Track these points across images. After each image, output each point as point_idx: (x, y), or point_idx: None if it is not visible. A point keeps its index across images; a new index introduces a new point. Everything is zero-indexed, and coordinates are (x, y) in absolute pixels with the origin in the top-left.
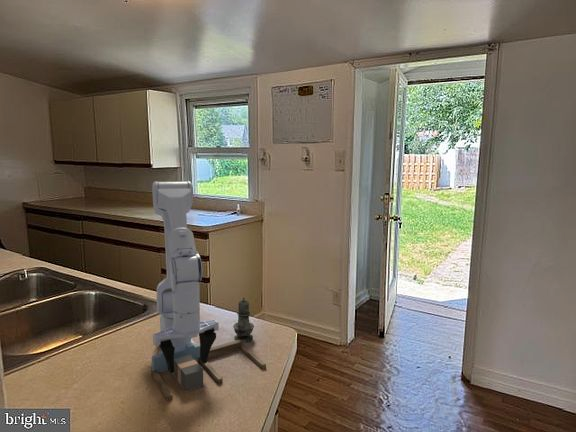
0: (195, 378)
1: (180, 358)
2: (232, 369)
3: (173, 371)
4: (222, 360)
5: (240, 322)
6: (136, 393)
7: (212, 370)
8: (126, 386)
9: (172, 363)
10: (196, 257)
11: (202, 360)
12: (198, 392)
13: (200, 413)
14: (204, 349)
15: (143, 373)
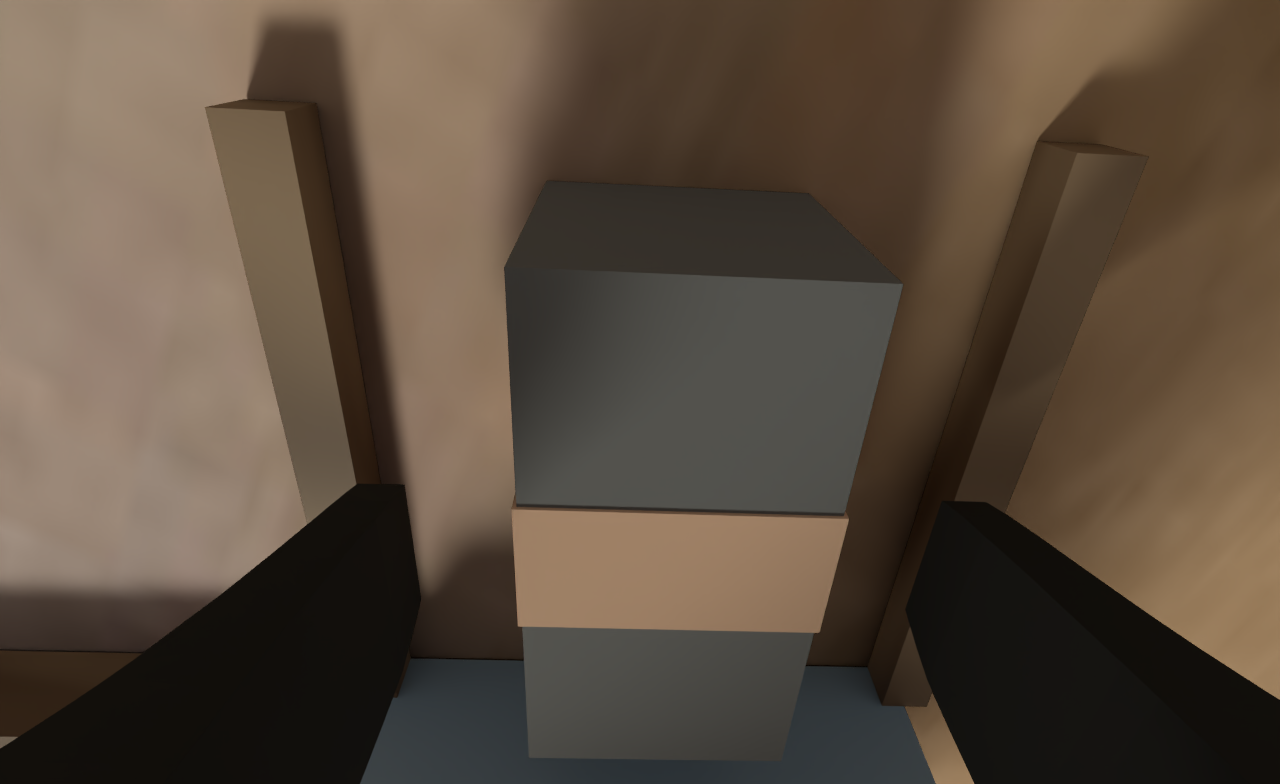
0: (675, 232)
1: (690, 736)
2: (30, 329)
3: (966, 513)
4: (139, 561)
5: None
6: (1211, 488)
7: (312, 397)
8: (1182, 626)
9: (1109, 628)
10: None
11: (403, 558)
12: (671, 72)
13: None
14: (261, 739)
15: None
